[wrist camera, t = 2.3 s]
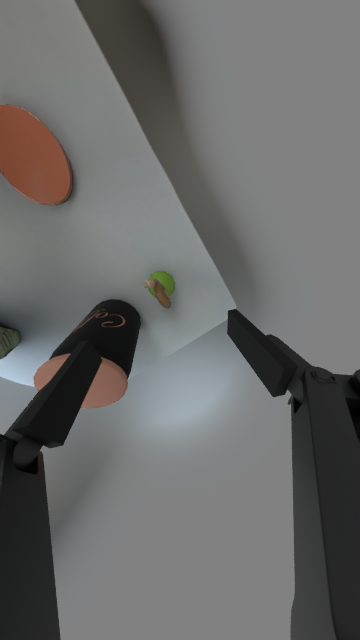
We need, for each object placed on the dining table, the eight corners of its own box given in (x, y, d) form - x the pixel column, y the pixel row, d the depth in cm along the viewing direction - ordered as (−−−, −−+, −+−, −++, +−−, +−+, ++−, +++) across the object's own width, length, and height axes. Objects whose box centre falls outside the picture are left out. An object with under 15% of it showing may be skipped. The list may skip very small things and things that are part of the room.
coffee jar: (136, 295, 30) (113, 352, 15) (144, 332, 36) (134, 401, 21) (86, 299, 29) (9, 366, 14) (103, 337, 35) (61, 414, 20)
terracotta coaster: (-30, 115, 16) (-38, 110, 15) (45, 103, 16) (40, 97, 16) (28, 210, 21) (23, 209, 20) (85, 199, 21) (82, 198, 21)
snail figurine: (161, 258, 27) (163, 271, 17) (178, 284, 30) (187, 308, 20) (140, 273, 28) (130, 293, 18) (158, 297, 31) (158, 326, 21)
